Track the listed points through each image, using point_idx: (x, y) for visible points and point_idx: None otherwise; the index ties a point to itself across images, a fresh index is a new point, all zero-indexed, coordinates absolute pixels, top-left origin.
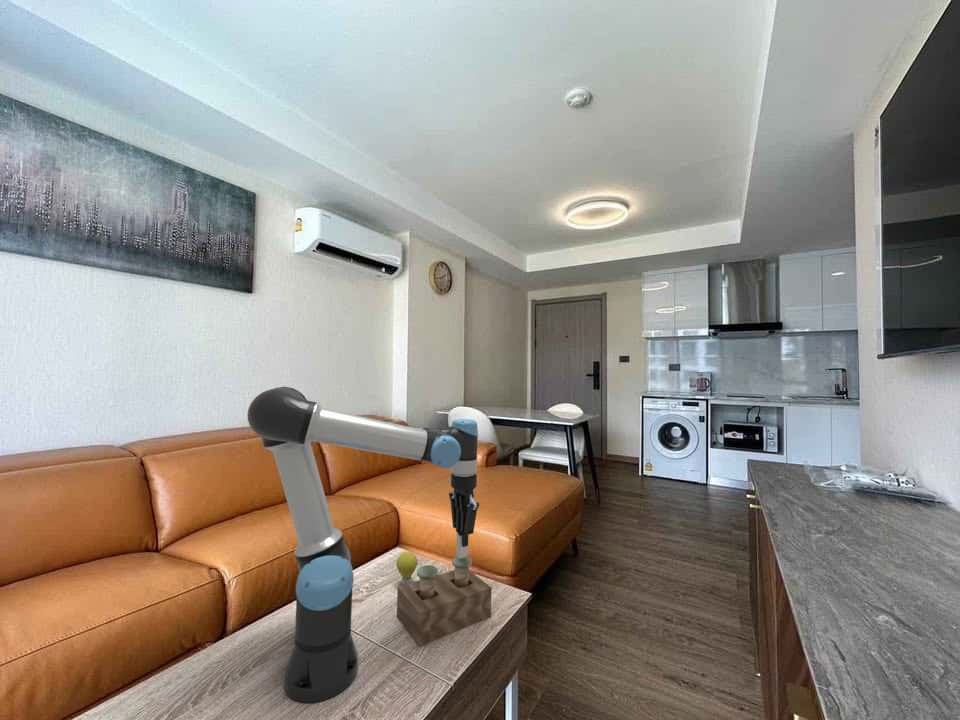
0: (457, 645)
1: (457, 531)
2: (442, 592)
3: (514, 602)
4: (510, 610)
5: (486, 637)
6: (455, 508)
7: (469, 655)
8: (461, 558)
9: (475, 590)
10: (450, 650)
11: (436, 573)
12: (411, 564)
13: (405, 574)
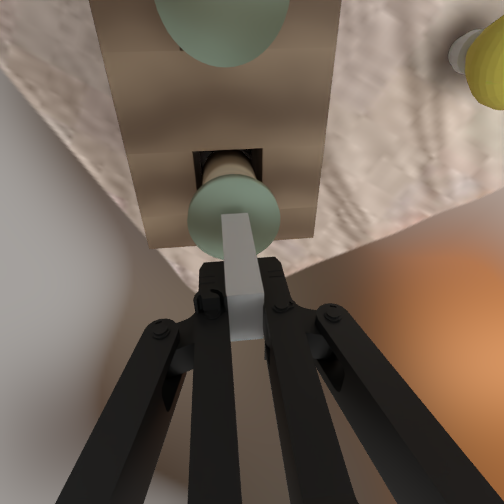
0: (65, 49)
1: (271, 303)
2: (190, 73)
3: (191, 277)
4: (166, 255)
5: (78, 150)
6: (405, 468)
7: (7, 59)
8: (252, 228)
9: (151, 197)
10: (45, 11)
11: (170, 34)
12: (487, 62)
13: (480, 34)
